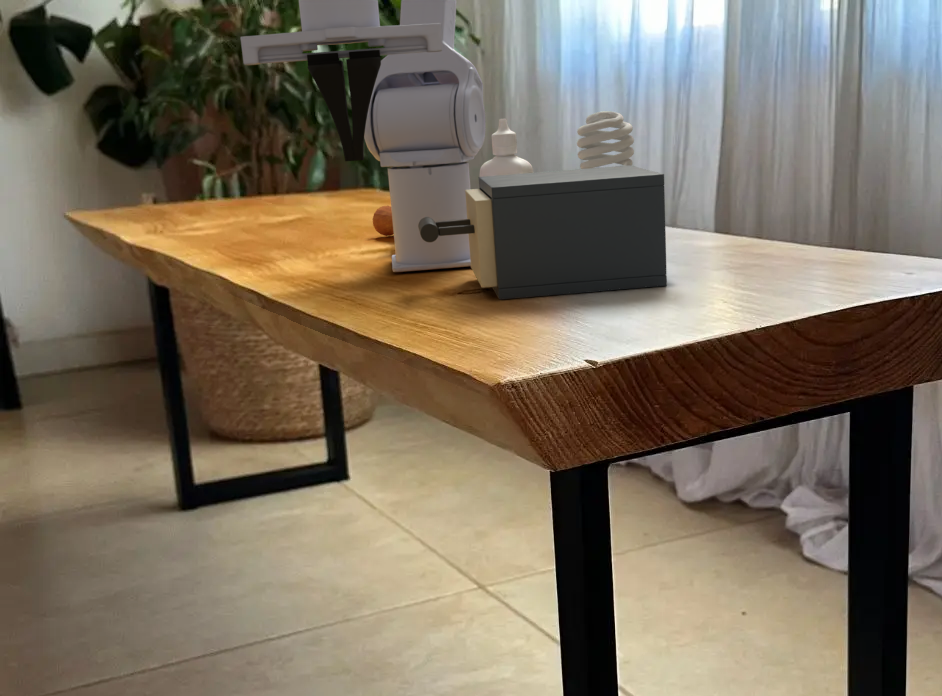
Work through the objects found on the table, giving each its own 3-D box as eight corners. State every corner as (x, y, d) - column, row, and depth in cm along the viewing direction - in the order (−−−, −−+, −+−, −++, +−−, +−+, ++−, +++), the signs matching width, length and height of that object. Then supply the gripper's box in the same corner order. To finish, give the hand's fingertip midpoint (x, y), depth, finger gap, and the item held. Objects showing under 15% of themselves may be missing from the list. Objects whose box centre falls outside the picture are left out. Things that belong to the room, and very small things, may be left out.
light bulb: (648, 232, 124) (644, 108, 120) (611, 240, 120) (607, 111, 116) (606, 231, 128) (601, 110, 124) (569, 238, 124) (563, 114, 120)
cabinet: (499, 299, 91) (491, 187, 88) (485, 276, 103) (478, 176, 100) (667, 285, 91) (664, 174, 89) (634, 264, 103) (630, 165, 101)
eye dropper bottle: (519, 238, 127) (511, 117, 123) (542, 243, 122) (535, 116, 118) (480, 243, 125) (471, 120, 121) (501, 248, 120) (493, 120, 116)
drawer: (426, 292, 91) (418, 205, 89) (421, 271, 101) (414, 193, 99) (634, 275, 92) (631, 188, 90) (608, 256, 102) (604, 178, 100)
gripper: (226, -34, 84) (252, 170, 88) (437, -48, 85) (453, 155, 89) (238, -25, 91) (261, 165, 95) (433, -37, 92) (448, 151, 96)
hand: (354, 160), depth 93 cm, fingers closed
